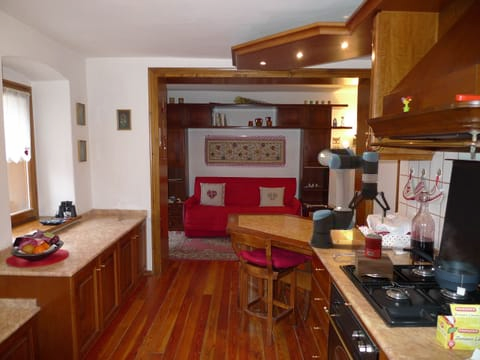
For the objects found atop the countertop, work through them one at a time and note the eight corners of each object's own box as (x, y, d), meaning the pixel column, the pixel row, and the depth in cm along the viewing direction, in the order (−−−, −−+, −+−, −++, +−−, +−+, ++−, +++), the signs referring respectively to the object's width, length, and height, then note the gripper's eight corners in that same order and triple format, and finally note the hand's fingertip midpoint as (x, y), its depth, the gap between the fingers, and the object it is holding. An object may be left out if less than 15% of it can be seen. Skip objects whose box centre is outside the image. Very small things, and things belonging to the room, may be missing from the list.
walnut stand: (354, 265, 174) (355, 251, 173) (386, 268, 169) (387, 253, 169) (357, 276, 158) (358, 260, 158) (392, 279, 154) (393, 263, 153)
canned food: (384, 259, 159) (384, 237, 159) (368, 259, 160) (368, 237, 159) (377, 254, 167) (378, 234, 166) (362, 254, 167) (363, 233, 166)
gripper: (344, 182, 163) (343, 222, 165) (397, 183, 157) (395, 225, 159) (343, 180, 170) (342, 219, 172) (394, 181, 164) (392, 222, 166)
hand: (368, 222), depth 166 cm, fingers open, 13 cm apart
